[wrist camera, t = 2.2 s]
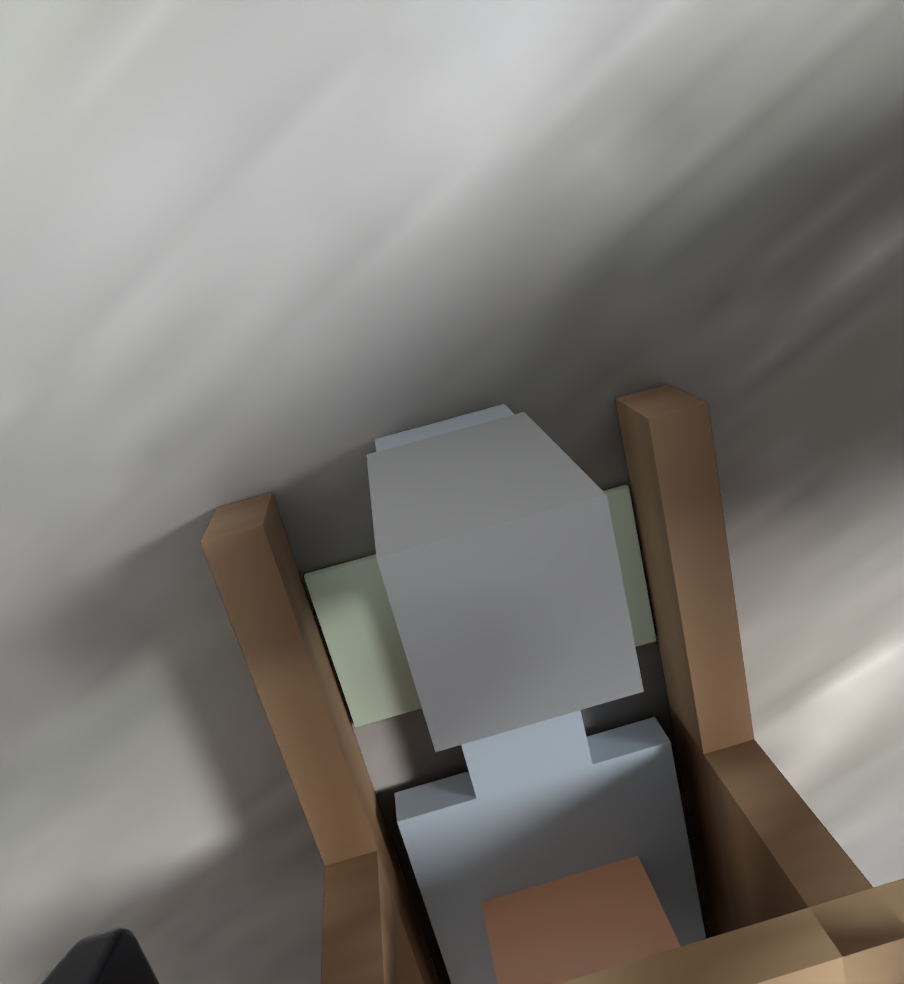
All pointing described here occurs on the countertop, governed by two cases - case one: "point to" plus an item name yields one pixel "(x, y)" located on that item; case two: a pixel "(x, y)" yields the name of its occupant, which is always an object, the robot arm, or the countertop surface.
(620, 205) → the countertop surface
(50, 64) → the countertop surface
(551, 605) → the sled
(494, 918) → the block
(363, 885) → the tunnel channel
